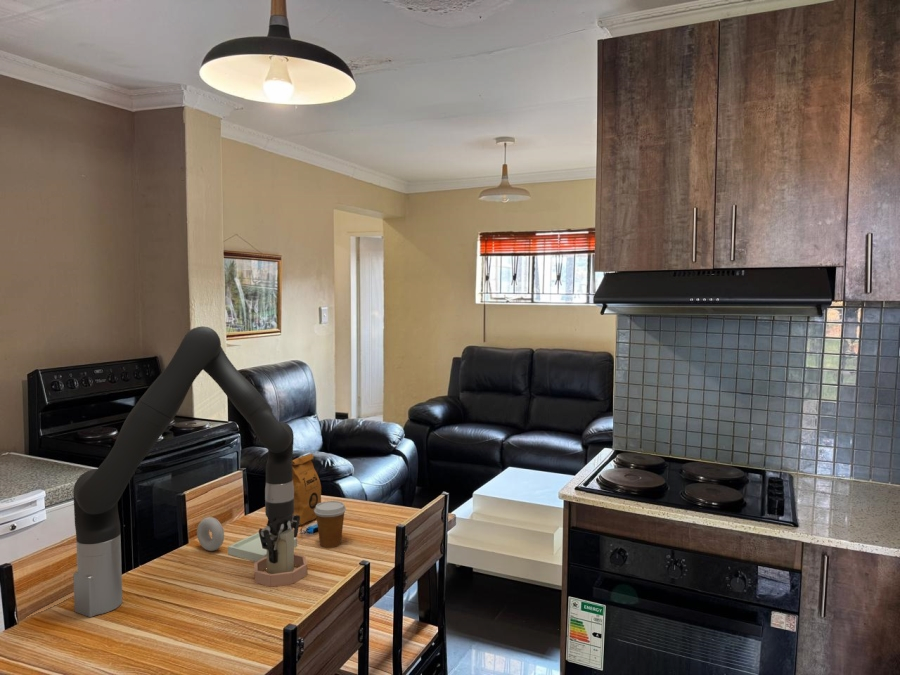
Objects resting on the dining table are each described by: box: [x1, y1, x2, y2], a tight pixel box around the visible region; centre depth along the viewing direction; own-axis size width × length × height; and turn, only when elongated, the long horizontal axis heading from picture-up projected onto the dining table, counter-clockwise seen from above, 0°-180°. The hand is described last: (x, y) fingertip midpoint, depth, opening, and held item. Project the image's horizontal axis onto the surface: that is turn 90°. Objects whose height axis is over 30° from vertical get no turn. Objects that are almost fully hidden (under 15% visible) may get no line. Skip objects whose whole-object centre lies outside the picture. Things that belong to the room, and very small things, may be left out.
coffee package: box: [292, 453, 322, 525], centre depth 204 cm, size 10×12×22 cm
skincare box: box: [266, 528, 295, 574], centre depth 163 cm, size 6×4×12 cm
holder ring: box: [253, 553, 308, 588], centre depth 163 cm, size 14×14×3 cm
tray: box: [227, 531, 298, 563], centre depth 179 cm, size 14×14×2 cm
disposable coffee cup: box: [314, 500, 347, 549], centre depth 184 cm, size 10×10×12 cm
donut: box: [196, 516, 225, 552], centre depth 179 cm, size 10×4×10 cm, turn 61°
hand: (280, 558), depth 163 cm, fingers closed on skincare box, 4 cm apart
